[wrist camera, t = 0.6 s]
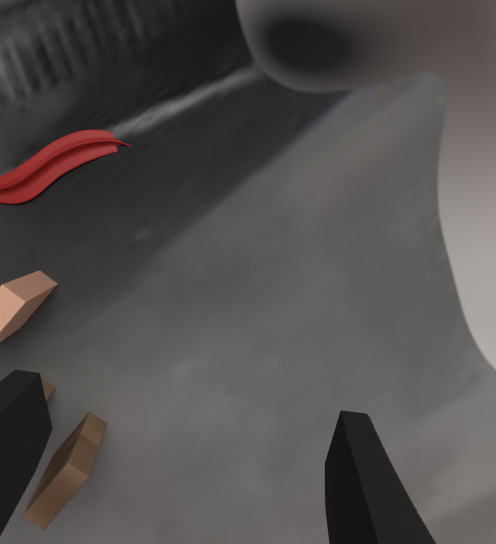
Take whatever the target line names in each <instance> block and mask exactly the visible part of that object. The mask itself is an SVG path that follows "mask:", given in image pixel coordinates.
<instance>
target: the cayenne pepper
mask: <svg viewBox="0 0 496 544" xmlns="http://www.w3.org/2000/svg"><path fill="white" fill-rule="evenodd" d="M117 145H127V146H130V145H128V144H125V143H123V142H121V141H118V140H116V139H114V138H113V133H112V132H108V131H103V130H83V131H78V132H74V133H72V134H69V135H66V136H64V137H62V138H60V139H58V140H56V141H54V142H52V143H51V144H49V145H48V146H46V147H45V148H43V149H42V150H41V151H39V152H38V153H37V154H36V155H34V156H33V157H32V158H30V159H29V160H28V161H26V162H25V163H23V164H22V165H20V166H19V167H17V168H16V169H14V170H13V171H11V172H9V173H7V174H5V175H2V176H0V203H5V204H18V203H23V202H26V201H28V200H31V199H32V198H34V197H36V196H37V195H39V194H40V193H41V192H42V191H44V190H45V189H46V188H47V187H48V186H49V185H50V184H51V183H53V182H54V181H55V180H56V179H57V178H59V177H60V176H62V175H63V174H65V173H66V172H68V171H70V170H72V169H74V168H76V167H77V166H79V165H81V164H83V163H86V162H88V161H91V160H93V159H96V158H99V157H102V156H104V155H107V154H111V153H114V152H117V151H118V150H117V148H116V146H117ZM130 147H131V146H130Z"/></svg>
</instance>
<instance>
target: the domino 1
mask: <svg viewBox="0 0 496 544" xmlns="http://www.w3.org/2000/svg"><path fill="white" fill-rule="evenodd" d="M56 286H57V283H56V282H54V281H53V280H52V279H50V278H49V277H48V276H46V275H45V274H44V273H43V272H41V271H40V270H39V271H37V272H34V273H31V274H29V275H26V276H24V277H21V278H18V279H16V280H13V281H10V282H8V283H5V284H2V285H1V287H0V342H1V341H3V340H4V339H6V338H7V337H8V336H10V335H11V334H13V333H14V332H15V331H17V330H18V329H20V328H21V327H22V325H23V324H24V323H25V322H26V321H27V320H28V318H29V317H30V316H31V315H32V314H33V313H34V311H35V310H36V309H37V308H38V307H39V305H40V304H41V303H42V302H43V301H44V300H45V298H46V297H47V296H48V295H49V294H50V293H51V291H52V290H53V289H54V288H55V287H56Z"/></svg>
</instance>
